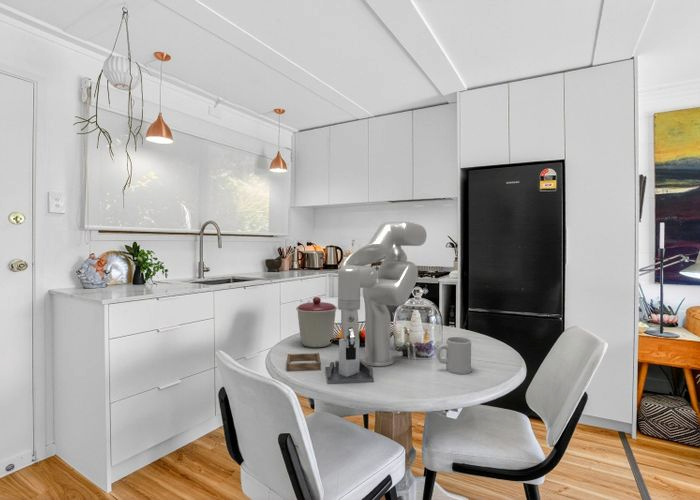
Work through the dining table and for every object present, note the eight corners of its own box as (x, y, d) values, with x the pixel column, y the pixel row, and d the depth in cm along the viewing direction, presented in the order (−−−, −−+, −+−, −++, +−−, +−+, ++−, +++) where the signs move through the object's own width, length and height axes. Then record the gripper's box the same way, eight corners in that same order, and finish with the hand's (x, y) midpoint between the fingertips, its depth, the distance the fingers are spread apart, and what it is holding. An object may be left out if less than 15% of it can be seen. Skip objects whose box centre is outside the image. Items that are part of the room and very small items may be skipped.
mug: (465, 366, 141) (466, 336, 140) (474, 374, 132) (475, 342, 132) (433, 366, 140) (434, 337, 140) (440, 375, 131) (441, 343, 131)
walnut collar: (319, 359, 148) (319, 353, 148) (320, 370, 136) (320, 363, 136) (287, 360, 146) (287, 354, 146) (286, 371, 134) (286, 364, 134)
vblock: (366, 368, 138) (367, 358, 137) (373, 382, 125) (373, 371, 125) (324, 370, 136) (324, 360, 135) (327, 384, 123) (327, 373, 123)
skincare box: (350, 369, 133) (350, 335, 132) (359, 372, 130) (360, 337, 129) (337, 374, 128) (337, 338, 128) (347, 377, 125) (347, 341, 125)
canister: (296, 339, 177) (296, 294, 176) (335, 338, 178) (335, 293, 178) (295, 351, 159) (295, 300, 158) (338, 350, 161) (338, 300, 160)
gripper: (364, 308, 120) (364, 362, 121) (356, 300, 137) (356, 347, 138) (340, 309, 119) (340, 363, 120) (335, 300, 136) (335, 348, 137)
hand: (348, 354), depth 129 cm, fingers open, 9 cm apart
